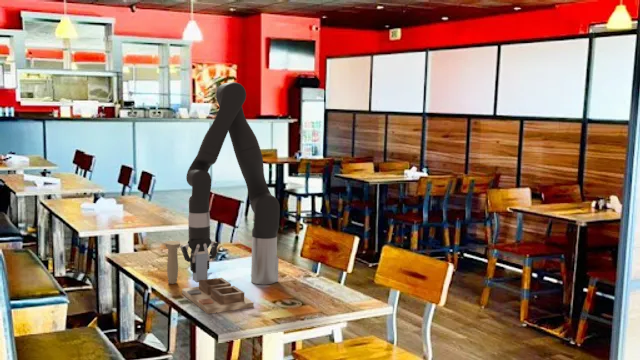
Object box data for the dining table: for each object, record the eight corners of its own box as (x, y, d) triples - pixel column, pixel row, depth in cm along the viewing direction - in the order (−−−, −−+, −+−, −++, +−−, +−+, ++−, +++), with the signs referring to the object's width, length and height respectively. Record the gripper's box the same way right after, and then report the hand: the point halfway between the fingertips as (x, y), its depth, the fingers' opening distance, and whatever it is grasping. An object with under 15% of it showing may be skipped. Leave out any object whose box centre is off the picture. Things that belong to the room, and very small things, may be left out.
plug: (203, 278, 236) (202, 249, 235) (207, 280, 233) (207, 251, 231) (192, 279, 234) (192, 250, 233) (196, 282, 231) (196, 252, 229)
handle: (169, 286, 234) (170, 245, 232) (162, 281, 239) (162, 241, 237) (182, 284, 237) (182, 243, 235) (175, 279, 242) (175, 240, 240)
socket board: (224, 287, 235) (224, 275, 234) (253, 306, 215) (253, 293, 214) (181, 293, 227) (182, 280, 226) (207, 313, 206) (207, 300, 206)
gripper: (213, 220, 238) (214, 266, 240) (176, 224, 230) (177, 271, 233) (222, 224, 231) (222, 271, 234) (183, 228, 224) (184, 276, 226)
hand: (199, 271), depth 233 cm, fingers closed on plug, 4 cm apart
